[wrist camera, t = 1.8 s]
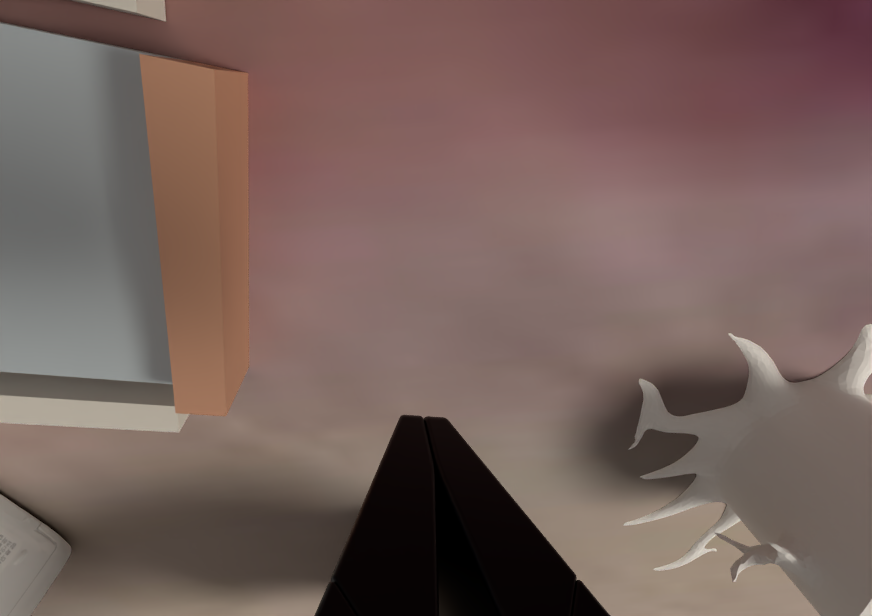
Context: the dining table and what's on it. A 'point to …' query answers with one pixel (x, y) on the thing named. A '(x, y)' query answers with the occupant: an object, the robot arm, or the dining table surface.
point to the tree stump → (785, 474)
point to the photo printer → (27, 559)
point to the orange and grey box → (123, 217)
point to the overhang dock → (88, 397)
